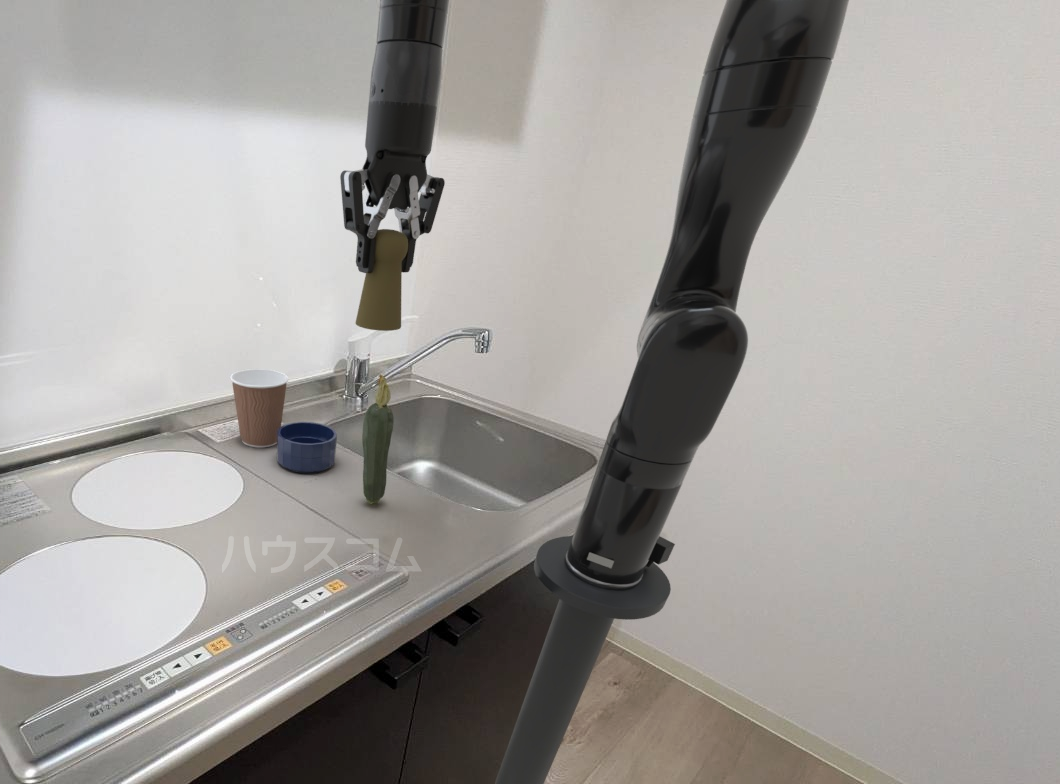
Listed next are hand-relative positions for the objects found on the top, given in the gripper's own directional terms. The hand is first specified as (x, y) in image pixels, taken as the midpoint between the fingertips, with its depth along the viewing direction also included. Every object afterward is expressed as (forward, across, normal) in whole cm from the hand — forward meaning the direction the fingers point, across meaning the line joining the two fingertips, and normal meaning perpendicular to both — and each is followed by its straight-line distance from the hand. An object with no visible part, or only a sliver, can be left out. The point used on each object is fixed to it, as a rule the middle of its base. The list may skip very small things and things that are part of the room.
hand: (384, 271), depth 73 cm
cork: (+7, 0, 0) cm, 7 cm away
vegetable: (+33, +1, -2) cm, 33 cm away
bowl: (+33, 0, +16) cm, 37 cm away
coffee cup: (+34, -3, +28) cm, 44 cm away
